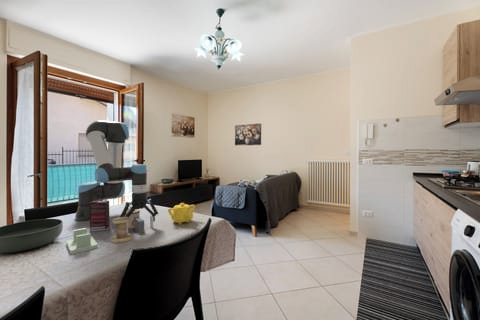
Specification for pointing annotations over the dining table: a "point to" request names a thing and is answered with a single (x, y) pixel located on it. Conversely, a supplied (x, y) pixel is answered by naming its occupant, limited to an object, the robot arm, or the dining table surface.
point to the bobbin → (121, 230)
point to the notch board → (75, 250)
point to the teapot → (181, 213)
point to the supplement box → (99, 215)
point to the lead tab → (139, 225)
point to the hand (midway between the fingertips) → (139, 230)
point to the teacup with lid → (133, 217)
